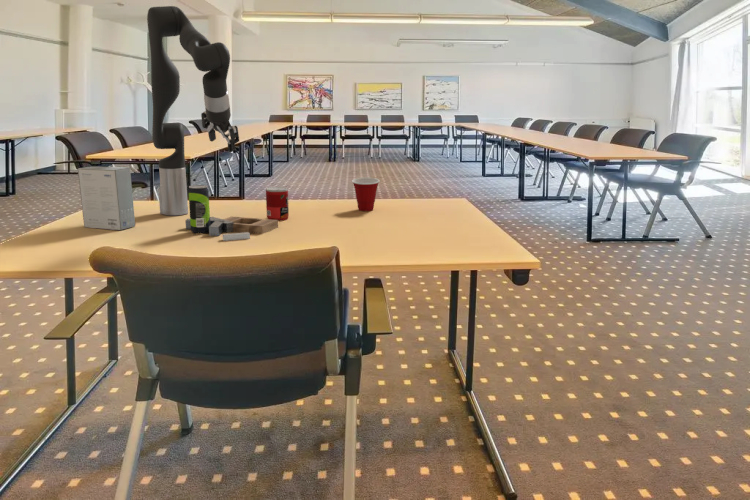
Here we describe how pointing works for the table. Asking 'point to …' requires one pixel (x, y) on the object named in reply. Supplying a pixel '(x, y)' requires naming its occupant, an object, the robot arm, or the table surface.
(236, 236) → the bar
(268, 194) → the canned food
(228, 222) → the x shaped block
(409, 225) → the table surface
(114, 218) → the hard drive box
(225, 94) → the robot arm
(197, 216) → the beverage can
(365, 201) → the plastic cup
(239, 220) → the wooden rectangular frame
